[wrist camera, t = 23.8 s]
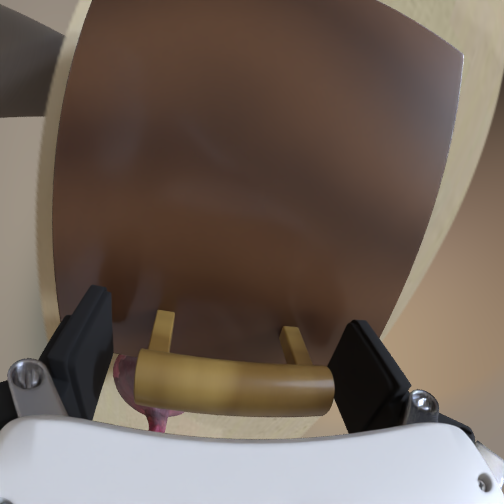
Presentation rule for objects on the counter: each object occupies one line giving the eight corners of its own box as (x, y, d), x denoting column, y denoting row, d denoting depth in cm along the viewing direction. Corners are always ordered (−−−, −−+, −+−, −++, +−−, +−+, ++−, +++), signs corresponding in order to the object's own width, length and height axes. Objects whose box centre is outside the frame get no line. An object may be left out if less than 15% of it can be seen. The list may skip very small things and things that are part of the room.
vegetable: (217, 354, 23) (224, 463, 14) (157, 378, 24) (144, 478, 14) (174, 299, 21) (155, 413, 11) (111, 330, 21) (75, 433, 12)
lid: (354, 364, 15) (392, 435, 10) (69, 331, 12) (29, 409, 7) (453, 55, 9) (536, 49, 4) (119, -41, 6) (78, -106, 1)
